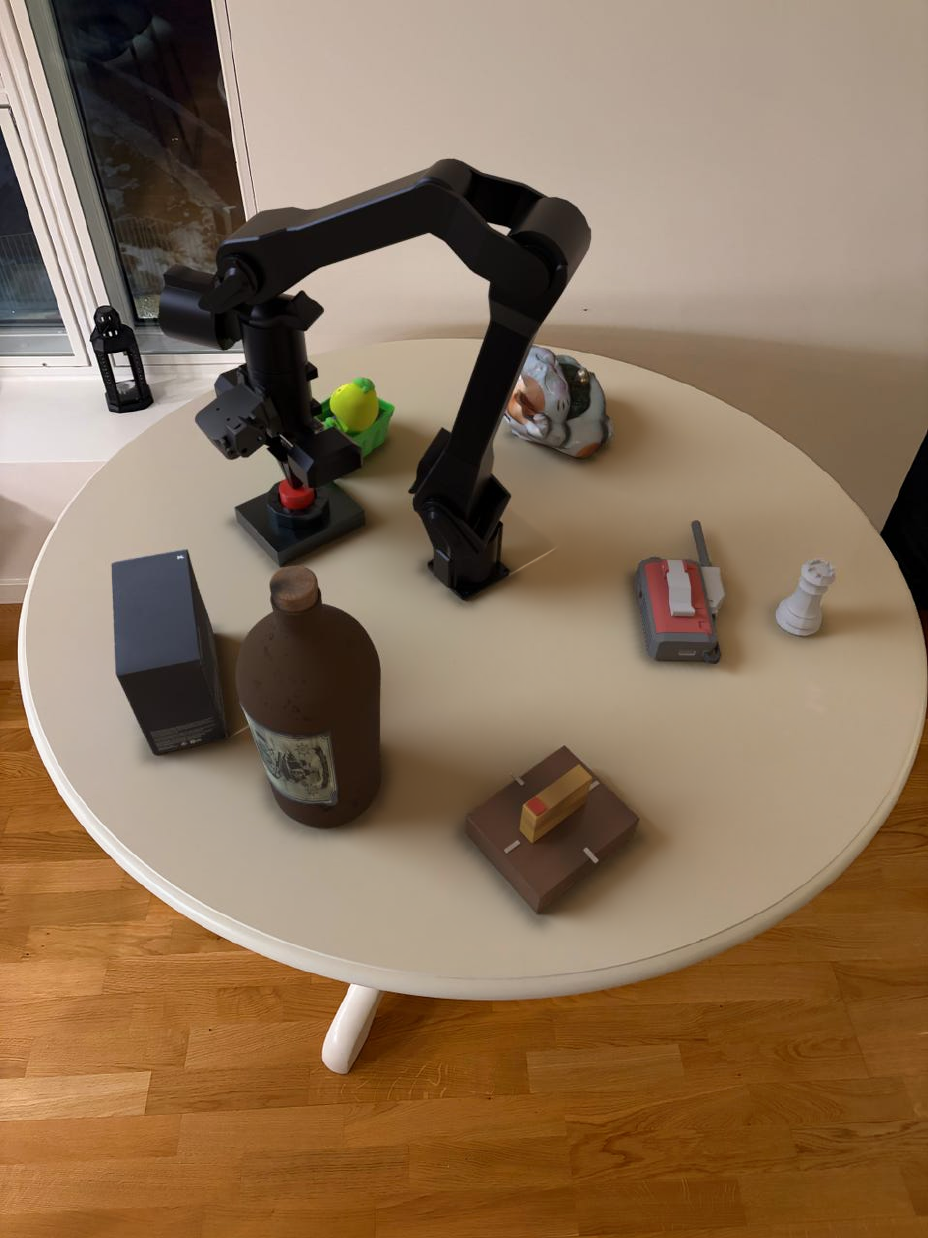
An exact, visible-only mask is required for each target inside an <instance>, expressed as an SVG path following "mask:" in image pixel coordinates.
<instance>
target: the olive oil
mask: <svg viewBox="0 0 928 1238" xmlns="http://www.w3.org/2000/svg"><path fill="white" fill-rule="evenodd" d="M318 582H319V581H318V577H317V575H316V573H315V572H314V571H313V570H311V569H310V568H309V567H305V566H302V565H289V566H285V567H281V569H279V570H277V571H276V572H275V573H274V574H273V575H272V576H271V578H270V580H269V585H268V586H269V591H270V597H269V601H270V604H271V610H272V611H271V612H270V613H267V614H266V615H265V616H263V617H262V618H261V619H259V621H258V622H257V623H256V624H255V625H254V626H253V627H251V629H250V630H249V632H248V633H247V635H246V636H245V638H244V640H243V642H242V643H241V645H240V649H239V653H238V655H237V661H236V666H235V667H236V668H235V687H236V691H237V695H238V698H239V700H238V703H239V705H240V708H241V709H242V710H243V713H244V715H245V718H246V720H247V723H248V726H249V728H250V731H251V734H252V736H253V739H254V742H255V745H256V747H257V750H258V754H259V756H260V759H261V761H262V764H263V767H264V770H265V773H266V776H267V780H268V782H269V785H270V788H271V791H272V794H273V797H274V800H275V802H276V804H277V805H278V807H279V808H280V809H281V811H282V812H284V814H285V815H286V816H288V817H289V818H291V819H292V820H293V821H295V822H297V823H299V824H302V825H304V826H308V827H311V828H312V827H313V828H331V827H337V826H340V825H343V824H347V823H349V822H351V821H353V820H355V819H356V818H358V817H359V816H360V815H362V814H363V813H364V812H365V811H366V810H367V809H368V808H369V807H370V806H371V805H372V804H373V802H374V801H375V799H376V798H377V795H378V793H379V789H380V787H381V783H382V782H381V780H382V760H381V758H382V757H381V687H382V686H381V685H382V684H381V683H382V681H381V680H382V673H381V672H382V669H381V661H380V657H379V654H378V650H377V647H376V645H375V644H374V641H373V640H372V638H371V636H370V634H369V633H368V631H367V630H366V628H365V627H364V626H363V625H362V623H361V622H360V621H359V620H357V619H356V618H355V616H353V615H351V614H350V613H349V612H347V611H345V610H343V609H341V608H338V607H336V606H333V605H330V604H326V603H323V597H322V590H321V588H320V587H319V583H318Z"/></svg>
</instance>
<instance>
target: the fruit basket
mask: <svg viewBox="0 0 928 1238" xmlns="http://www.w3.org/2000/svg"><path fill="white" fill-rule="evenodd" d="M319 403H320V404H321V405H322V412H323V413H322V414H320V415H318V416H315V417H316V418H317V419H318V420H319V421H321V422H322V423H323V424H324V425H325V430H326V429H328V428H330V427H333V426H334V427H336V428H338V429H341V430H342V431H344V432H345V433H346V434H347V435H348V436H349V437H350V438H352V439H353V440H354V441H355V442H356V443H357V444H358V445H360V446H361V447H362V457H363V458H365V457H366V456H368V455H369V454H370V453H372V452H373V450H374V449H376V448H378V447H379V446H381V445H382V444H383V443H384V442H385V439H386V436H387V433H388V432H387V431H388V429H389V425H390V421H391V419H392V417H393V415H394V412H395V409H396V406H395V405H394V404H392V403H390V402H388V401H385V400H384V399H382V398H380V397H378V395H377V391H376V385H375V383H374V382H373V380H371V379H370V378H367V377H362V376H361V377H360V376H359V377H356V378H355V379H354V380H352V382H348V383H345V384H343V385H341V386H339V387H337V388H336V389H335V390H334V391H333V393H332V394H331V396H329V397H328V398H326V399H324V400H323V401H322V402H319ZM323 431H324V430H323Z"/></svg>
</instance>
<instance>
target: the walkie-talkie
mask: <svg viewBox="0 0 928 1238" xmlns="http://www.w3.org/2000/svg"><path fill="white" fill-rule="evenodd" d="M690 526H691V530H692V534H693V538H694V544H695V547H696V551H697V552H696V553H697V555H698V560H699V562H698V561H696V560H694V559H691V558H689V559H688V558H662V557H659V556H651V557H649V558H645V559H640V561H639V562H638V564H637V568H636V570H635V573H634V583H635V590H636V596H637V601H638V607H639V608H638V609H639V610H640V612H639V613H640V614H641V615H640V618H641V623H642V625H641V626H642V630H643V635H644V642H645V647H646V652H647V655H648V657H650V658H652V659H653V660H655V661H656V660H659V661H660V660H661V661H663V660H664V661H705V662H706V664H710V665H713V666H714V665H717V664H718V663H719V662H720V661H721V659H722V652H721V646H720V643H719V639H718V638H719V637H718V634H717V629H716V625H715V622H716V619H717V617H718V614H719V610H720V609H721V608H722V606H723V602H724V601H725V597H726V592H725V588H724V584H723V581H722V577H721V575H722V570H721V567H720V566H714V565H713V562H712V561H711V559H710V556H709V552H708V548H707V544H706V543H707V542H706V539H705V536H704V531H703V527H702V524H701V521H700V520H698V519H694V520H692V521H691V524H690ZM714 653H715V657H713V656H714Z"/></svg>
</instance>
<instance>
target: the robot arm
mask: <svg viewBox="0 0 928 1238" xmlns="http://www.w3.org/2000/svg"><path fill="white" fill-rule="evenodd" d="M490 224H492V225H495V226H496V225H497V226H500V227H504V228H507V229H510V230H509V231H508V232H507V233H506V234H504V233H502V232H501V231H499V230H497V229H495V228H493V227H492V226H491V225H490ZM427 234H430V235H431V236H434V237H436V238H437V239H439V240H441V241H442V242H444V243H445V244H446V245H447V246H448V248H449V249H450V250H451V251H452V252H453V253H454V254H455V255H456V256H457V257H458V258H459V260H460V261H461V262H462V263H463V264H464V265H465V266H466V268H467V269H468V270H469V271H471V272H472V273H473V274H475V275H477V276H478V277H480V278H482V279H484V280H486V281H487V282H489V287H488V293H487V298H488V301H487V302H488V310H489V311H488V312H489V323H488V326H487V329H486V330H485V331H486V332H485V334H484V337H483V340H482V343H481V346H480V348H479V352H478V354H477V357H476V360H475V363H474V366H473V369H472V372H471V375H470V377H469V380H468V383H467V385H466V389H465V391H464V394H463V397H462V400H461V403H460V405H459V409H458V411H457V414H456V417H455V420H454V422H453V426H452V428H451V431H449V430H448V429H446V428H445V427H444V426H441V427H440V429H439V430H438V432H437V433H436V434H435V436H434V437H433V439H432V441H431V442H430V443H429V445H428V447H427V449H426V450H425V452H424V453H423V455H422V456H421V458H420V459H419V461H418V463H417V467H416V475H415V479H414V481H413V482H412V484H411V486H410V487H409V489H408V490H407V493H408V494H409V495H413V497H412V509H413V511H414V512H415V513H417V515H418V516H419V517H420V519H421V521H422V524H423V526H424V528H425V531H426V533H427V536H428V538H429V540H430V544H431V545H432V547H433V558H432V559H430V560H428V561H427V564H426V567H427V569H428V570H429V572H431V573H432V574H433V576H434V577H435V578H436V579H437V580H438V581H439V582H440V583H442V585H444V587H446V588H447V589H449V590H451V592H453V593H454V594H455V595H456V596H457V597H458V598H459V599H460V600H462V601H468V600H470V599H471V598H473V597H475V596H477V595H478V594H481V593H482V592H483V591H485V590H487V589H488V588H490V587H492V586H494V585H495V584H497V583H499V582H501V581H502V580H504V579H505V578H507V577H509V576H510V574H511V569H510V568H509V567H508V566H506V565H505V564H504V563H503V562H502V561H501V557H502V544H503V534H504V523H503V522H502V521H501V518H502V516H503V515H504V513H505V510H506V509H507V507H508V505H509V503H510V501H511V500H512V493H510V491H509V490H508V489H507V488H506V486H504V485H503V484H502V482H500V480H499V479H498V478H497V477H496V476H495V474H494V473H493V468H494V461H495V452H494V451H495V450H494V441H495V438H496V436H497V433H498V431H499V428H500V425H501V423H502V422H503V419H504V418H503V416H504V414H505V411H506V409H507V406H508V404H509V401H510V399H511V396H512V394H513V391H514V389H515V386H516V384H517V382H518V379H519V377H520V374H521V372H522V369H523V367H524V364H525V362H526V359H527V357H528V355H529V352H530V350H531V347H532V345H534V342H535V340H536V337H537V335H538V332H539V330H540V328H541V327H542V325H543V323H544V322H545V321H546V320H547V317H548V316H549V315H550V313H551V312H552V310H553V308H554V307H555V305H556V304H557V303H558V301H559V300H560V298H561V297H562V295H563V293H564V292H565V290H566V289H567V287H568V285H569V283H570V282H571V280H572V278H574V277H573V276H574V275H575V274H576V272H577V270H578V269H579V266H580V265H581V264H582V262H583V260H584V259H585V257H586V255H587V254H588V251H589V250H590V248H591V247H590V246H591V243H592V228H591V227H590V226H589V223H588V221H587V218H586V217H585V214H583V213H582V211H581V210H580V209H579V207H578V206H577V205H575V204H574V203H573V202H571V201H570V200H567V199H565V198H561V197H559V196H548V195H546V194H544V193H542V192H541V191H539V190H537V189H535V188H533V187H532V186H530V185H528V184H526V183H524V182H521V181H517V180H513V179H510V178H506V177H502V176H498V175H493V174H490V173H486V172H483V171H481V170H479V169H477V168H475V167H474V166H472V165H470V164H468V163H466V162H464V161H463V160H460V159H457V158H451V157H449V158H443V159H441V158H440V159H439V160H437V161H435V163H433V164H432V165H431V166H429V167H427V168H424V169H422V170H419V171H416V172H413V173H411V174H408V175H405V176H403V177H400V178H397V179H395V180H392V181H389V182H386V183H384V184H381V185H378V186H375V187H373V188H369V189H367V190H364V191H362V192H359V193H357V194H354V195H351V196H348V197H345V198H342V199H340V200H337V201H335V202H332V203H328V204H326V205H323V206H321V207H317V208H309V209H304V208H300V207H295V206H287V207H280V208H271V209H264V210H261V211H259V212H257V213H255V214H254V215H253V216H252V217H251V218H249V219H248V220H247V221H246V222H244V223H243V224H242V225H241V226H240V227H238V228H237V229H236V230H235V231H234V232H233V233H231V234H229V236H228V237H227V238H224V240H223V241H221V243H219V244H218V246H217V247H216V249H215V264H216V272H215V273H211V272H207V271H206V272H205V271H203V270H202V271H201V270H196V269H194V268H191V267H189V266H187V265H183V264H179V263H174V264H173V265H172V266H170V268H168V269H166V271H164V272H163V273H162V278H163V282H164V286H163V288H162V290H161V294H160V297H159V300H158V301H159V302H158V313H157V316H156V318H157V323H158V326H159V328H160V330H161V332H162V333H163V334H164V335H165V336H166V337H167V338H169V339H173V340H177V341H181V342H186V343H190V344H193V345H198V346H202V347H205V348H210V349H214V350H219V351H222V352H225V351H229V350H230V349H232V348H233V347H234V346H235V344H236V343H239V342H240V341H241V343H242V344H241V345H242V351H243V354H244V361H245V363H241V364H239V365H238V366H237V367H235V368H232V369H229V370H226V371H224V372H222V373H219V376H218V377H217V379H216V380H215V382H214V384H213V386H214V393H215V396H216V397H215V398H214V399H213V400H212V401H210V402H209V403H208V404H207V405H206V406H204V407H203V408H202V409H200V410H199V411H198V412H197V413H196V415H195V416H194V422H195V424H196V425H197V427H198V428H199V429H200V430H201V432H202V433H203V434H204V435H205V437H206V438H207V439H208V441H209V442H210V443H211V444H212V445H213V446H214V447H215V448H216V449H217V450H218V451H219V453H220V454H222V456H223V457H224V458H225V459H226V460H229V461H234V460H237V459H239V458H242V459H247V458H248V459H249V458H250V457H251V456H252V455H253V454H254V453H256V452H257V451H258V450H259V449H261V448H262V447H263V446H264V445H265V446H266V448H265V450H266V451H267V452H269V454H271V456H273V458H275V460H276V462H277V464H278V466H279V468H280V471H281V472H282V474H283V476H284V479H286V480H287V482H288V483H289V485H290V486H291V487H292V488H293V489H294V490H295V489H298V488H300V487H302V485H303V483H304V484H305V485H306V486H307V487H308V488H316V489H317V488H319V487H321V486H323V485H326V484H328V483H330V482H332V481H334V482H335V481H336V480H338V479H341V478H342V477H345V476H347V475H349V474H351V473H353V472H356V471H357V470H360V469H362V467H363V464H364V457H362V447H361V446H360V445H358V444H357V443H356V442H355V441H354V440H353V439H352V438H350V437H349V436H348V435H347V434H346V433H345V432H344V431H342V430H341V429H338V428H336V427H334V426H333V427H330V428H328V429H326V430H325V425H324V424H323V423H322V422H321V421H319V420H318V419H317V418H316V417H315V416H318V415H320V414H322V413H323V412H322V405H321V404H320V403H321V402H319V401H318V400H317V399H316V398H314V396H313V391H312V390H313V389H312V383H311V381H314V380H317V379H318V378H319V370H318V367H317V366H316V365H314V364H313V363H312V362H311V361H309V358H308V351H307V350H308V349H307V342H306V334H305V332H308V330H309V329H310V328H311V327H312V326H313V325H314V324H315V323H316V322H317V321H318V319H319V318H320V317H321V316H322V315H323V314H324V313H325V308H324V307H323V306H322V305H321V304H320V303H319V302H318V301H317V300H316V299H313V298H312V297H310V296H309V295H308V294H307V293H306V291H305V290H303V289H300V290H299V291H298V292H297V293H296V294H295V295H294V294H288V293H285V292H287V291H289V290H291V288H293V287H294V286H296V285H297V284H298V283H300V282H301V281H303V280H304V279H305V278H307V277H308V276H310V275H311V274H313V273H314V272H316V271H318V270H319V269H322V268H325V267H328V266H331V265H334V264H337V263H340V262H343V261H346V260H349V259H353V258H355V257H359V256H362V255H365V254H368V253H372V252H375V251H377V250H380V249H381V250H382V249H383V248H386V247H390V246H394V245H397V244H399V243H402V242H406V241H409V240H412V239H416V238H418V237H421V236H425V235H427ZM323 430H324V431H323Z"/></svg>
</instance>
